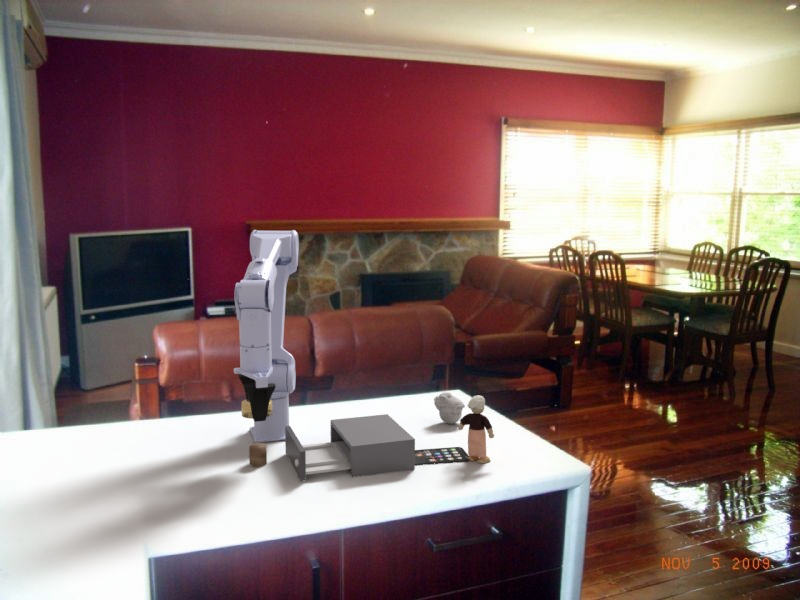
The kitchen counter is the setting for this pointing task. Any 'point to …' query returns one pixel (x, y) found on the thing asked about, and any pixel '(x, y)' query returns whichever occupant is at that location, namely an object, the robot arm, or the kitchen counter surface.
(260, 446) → the brown domed cylinder
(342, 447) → the tray
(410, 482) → the kitchen counter surface
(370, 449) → the housing
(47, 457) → the kitchen counter surface
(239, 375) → the robot arm
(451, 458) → the smartphone
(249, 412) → the disc
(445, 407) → the grey rounded lumpy piece
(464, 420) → the grandmother figurine
